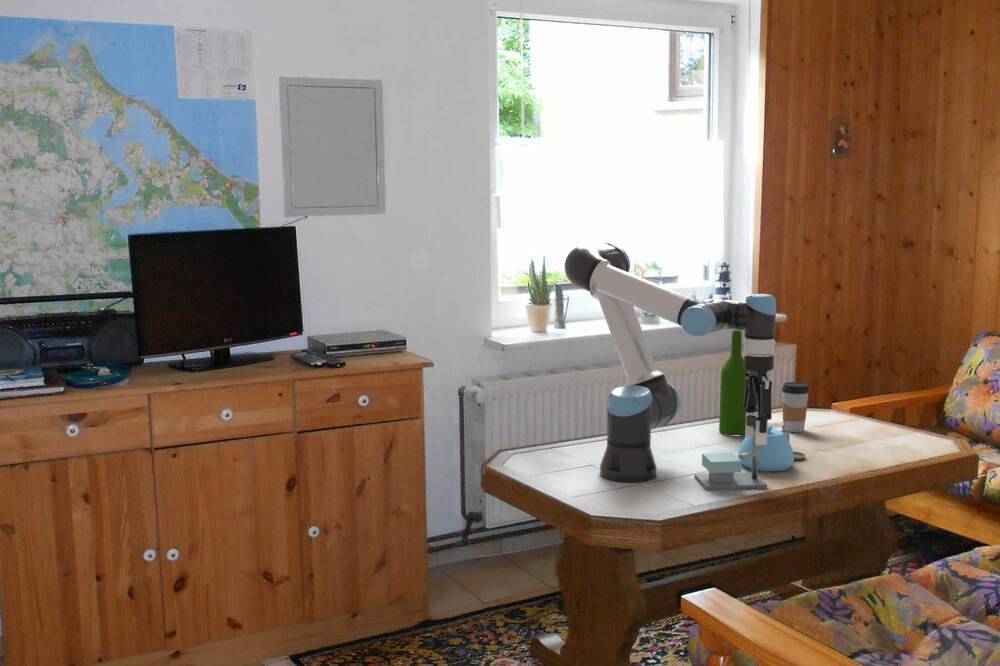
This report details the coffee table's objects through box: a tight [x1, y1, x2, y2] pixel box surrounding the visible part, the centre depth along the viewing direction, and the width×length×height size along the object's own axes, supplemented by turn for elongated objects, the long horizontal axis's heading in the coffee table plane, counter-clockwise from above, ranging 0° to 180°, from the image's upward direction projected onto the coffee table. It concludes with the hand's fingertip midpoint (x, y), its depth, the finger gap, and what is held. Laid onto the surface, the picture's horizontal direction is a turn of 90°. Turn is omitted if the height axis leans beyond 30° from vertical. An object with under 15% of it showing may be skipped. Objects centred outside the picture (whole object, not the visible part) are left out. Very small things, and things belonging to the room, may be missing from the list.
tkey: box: [739, 415, 759, 479], centre depth 255 cm, size 7×5×16 cm
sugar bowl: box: [737, 424, 795, 472], centre depth 273 cm, size 15×15×12 cm
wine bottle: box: [718, 329, 750, 436], centre depth 308 cm, size 9×9×32 cm
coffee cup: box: [781, 381, 810, 433], centre depth 312 cm, size 8×8×15 cm
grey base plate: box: [694, 471, 768, 491], centre depth 257 cm, size 16×11×4 cm
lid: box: [701, 452, 743, 473], centre depth 256 cm, size 8×8×3 cm
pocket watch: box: [780, 421, 806, 461], centre depth 281 cm, size 8×8×10 cm
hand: (755, 440), depth 256 cm, fingers open, 7 cm apart
